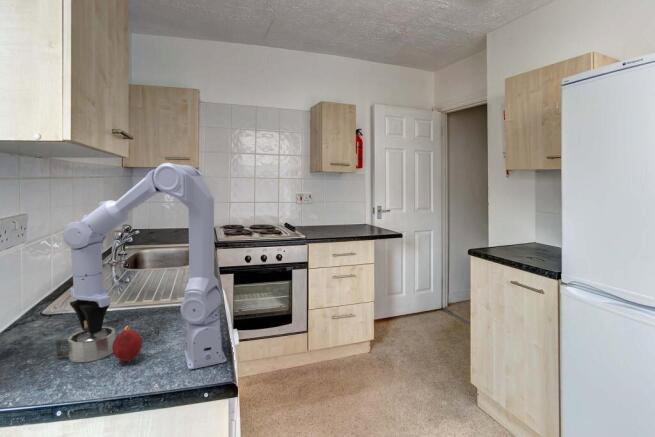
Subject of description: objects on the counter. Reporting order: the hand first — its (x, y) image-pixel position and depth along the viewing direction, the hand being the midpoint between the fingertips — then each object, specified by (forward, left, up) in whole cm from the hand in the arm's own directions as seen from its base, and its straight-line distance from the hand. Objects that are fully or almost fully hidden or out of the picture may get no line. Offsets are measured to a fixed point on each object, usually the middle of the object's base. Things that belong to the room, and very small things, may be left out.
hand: (91, 330), depth 82 cm
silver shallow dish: (0, +1, -5) cm, 6 cm away
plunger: (0, 0, -2) cm, 2 cm away
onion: (-8, -7, -6) cm, 12 cm away
